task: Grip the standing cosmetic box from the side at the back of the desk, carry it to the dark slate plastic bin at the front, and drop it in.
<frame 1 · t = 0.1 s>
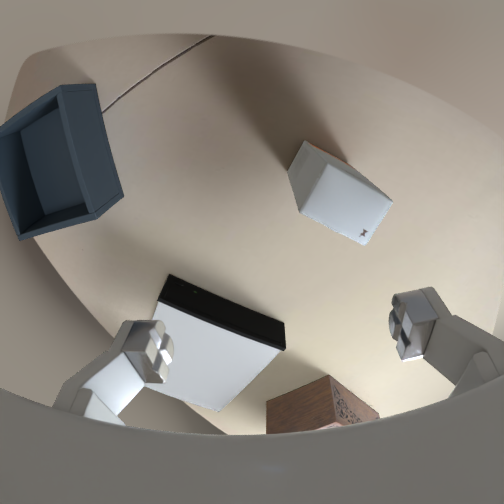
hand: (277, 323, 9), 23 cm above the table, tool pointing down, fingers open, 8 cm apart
disc drive: (200, 344, 44), on the table
bin: (64, 157, 29), on the table
cosmetic box: (318, 167, 29), on the table
tissue box cover: (328, 409, 54), on the table
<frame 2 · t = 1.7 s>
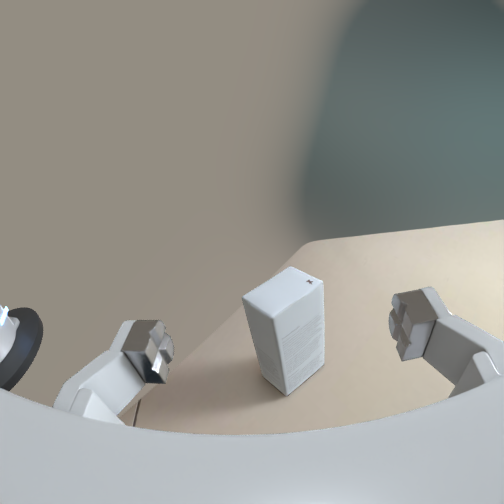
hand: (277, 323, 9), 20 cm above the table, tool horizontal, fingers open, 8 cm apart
cosmetic box: (292, 372, 30), on the table
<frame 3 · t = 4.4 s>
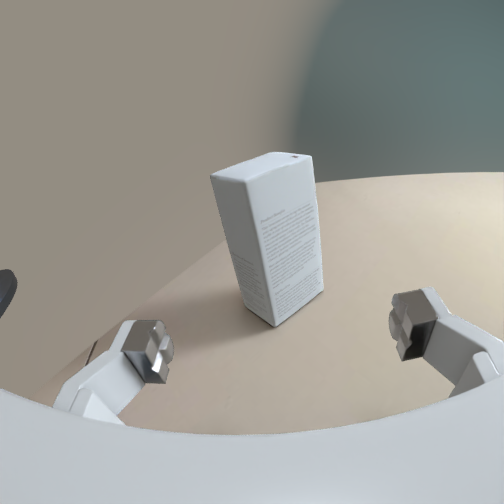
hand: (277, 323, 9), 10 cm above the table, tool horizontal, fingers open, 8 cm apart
cosmetic box: (283, 301, 25), on the table
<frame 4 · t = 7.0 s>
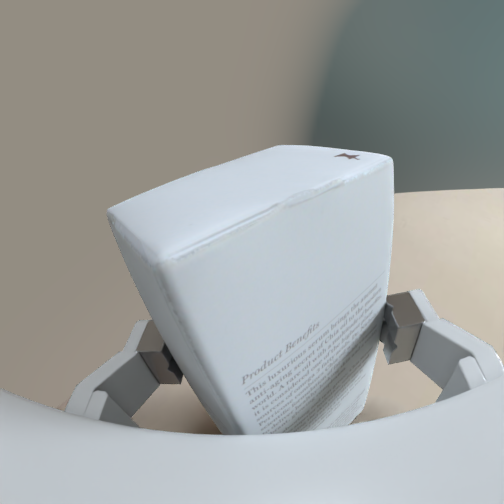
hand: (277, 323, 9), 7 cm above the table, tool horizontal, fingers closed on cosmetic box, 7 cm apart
cosmetic box: (292, 428, 12), on the table, touching gripper
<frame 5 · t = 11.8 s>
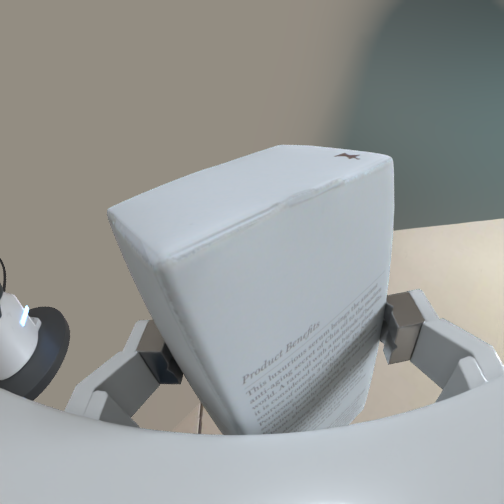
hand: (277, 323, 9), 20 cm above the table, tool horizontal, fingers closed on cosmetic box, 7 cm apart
cosmetic box: (292, 428, 12), point 13 cm above the table, touching gripper
when the fingers open (11 cm above the table, at t = 16.7 s): cosmetic box drops 3 cm, resting on bin.
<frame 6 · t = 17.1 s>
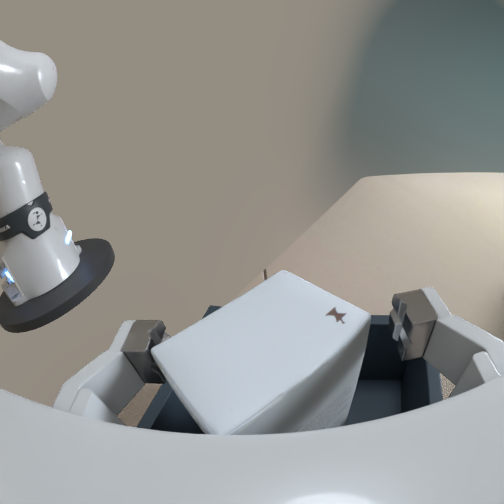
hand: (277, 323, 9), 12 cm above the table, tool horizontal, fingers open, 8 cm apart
bin: (297, 459, 15), on the table
cosmetic box: (281, 456, 14), point 1 cm above the table, touching bin, gripper
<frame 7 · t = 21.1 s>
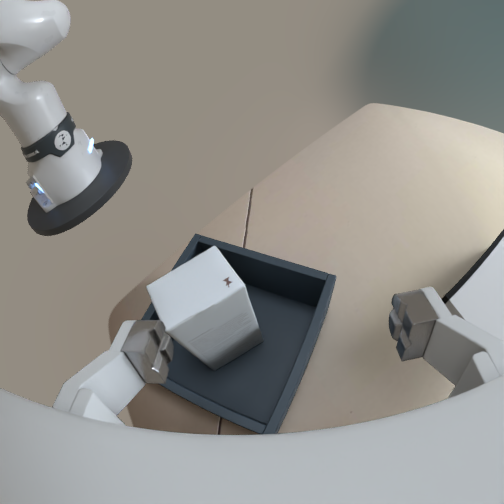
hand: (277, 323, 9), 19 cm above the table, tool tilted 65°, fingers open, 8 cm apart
bin: (239, 344, 29), on the table
cosmetic box: (228, 341, 28), point 1 cm above the table, touching bin
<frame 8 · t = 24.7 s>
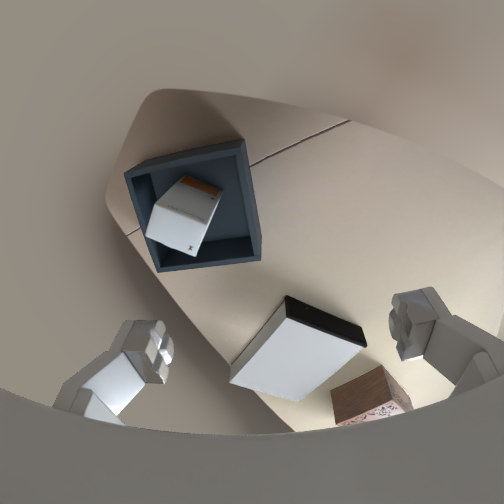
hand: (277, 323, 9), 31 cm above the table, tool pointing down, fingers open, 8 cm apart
disc drive: (293, 347, 55), on the table
bin: (202, 198, 40), on the table
cosmetic box: (199, 193, 39), point 1 cm above the table, touching bin
tissue box cover: (374, 394, 65), on the table
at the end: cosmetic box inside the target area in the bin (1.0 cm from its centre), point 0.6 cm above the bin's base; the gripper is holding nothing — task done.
